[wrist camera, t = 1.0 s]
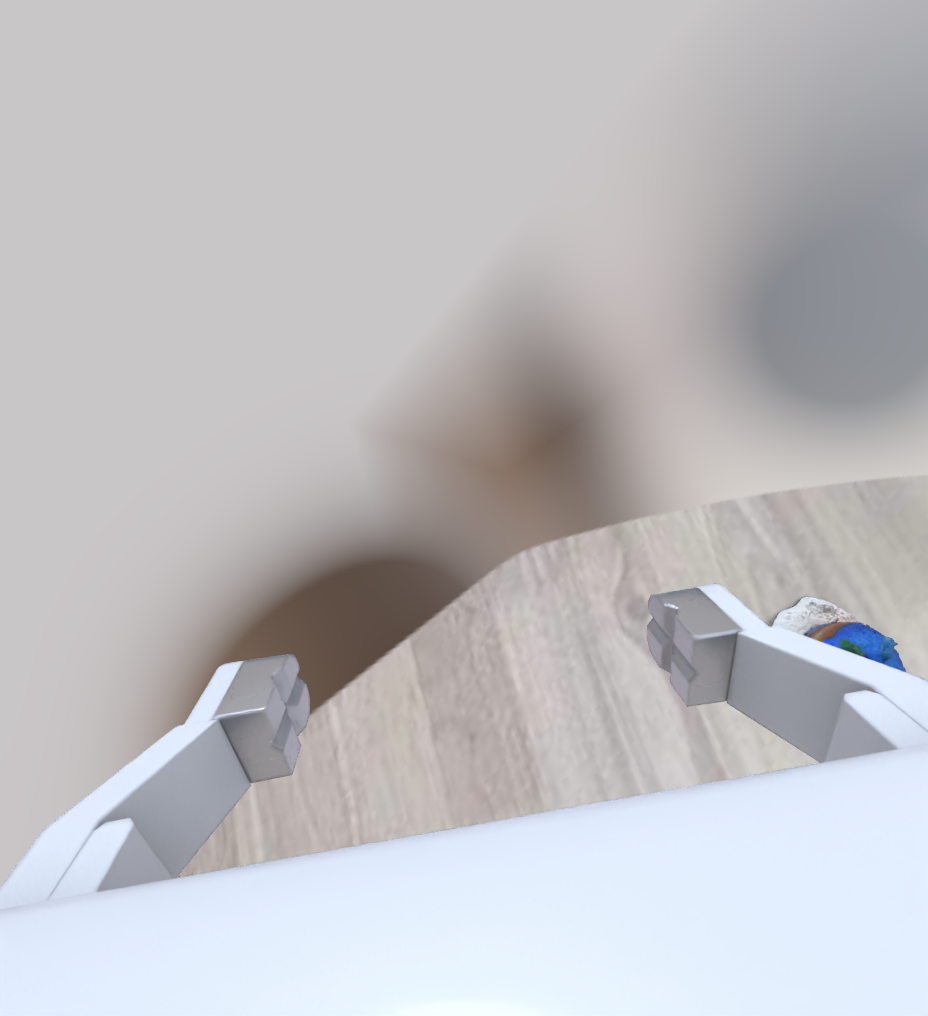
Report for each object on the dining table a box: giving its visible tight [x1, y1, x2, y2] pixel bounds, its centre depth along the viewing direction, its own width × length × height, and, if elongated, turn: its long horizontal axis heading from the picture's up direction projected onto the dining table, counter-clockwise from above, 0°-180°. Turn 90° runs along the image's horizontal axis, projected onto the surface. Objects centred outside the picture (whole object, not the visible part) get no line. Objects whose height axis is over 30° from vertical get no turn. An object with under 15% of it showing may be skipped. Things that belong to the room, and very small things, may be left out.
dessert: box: [773, 597, 906, 672], centre depth 27 cm, size 8×7×6 cm
